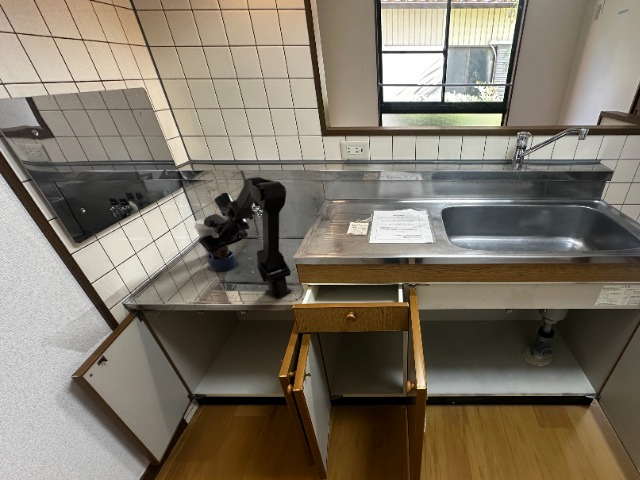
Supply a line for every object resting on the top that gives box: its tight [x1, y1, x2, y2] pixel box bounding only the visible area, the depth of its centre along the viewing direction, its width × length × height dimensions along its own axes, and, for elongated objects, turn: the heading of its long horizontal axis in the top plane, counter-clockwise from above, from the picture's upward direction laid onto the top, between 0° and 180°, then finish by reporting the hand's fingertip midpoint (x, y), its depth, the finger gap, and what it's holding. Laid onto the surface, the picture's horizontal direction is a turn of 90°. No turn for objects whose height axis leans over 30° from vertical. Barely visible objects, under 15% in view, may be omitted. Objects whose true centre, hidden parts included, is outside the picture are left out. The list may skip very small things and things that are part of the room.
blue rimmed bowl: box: [206, 249, 237, 272], centre depth 130 cm, size 10×10×5 cm
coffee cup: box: [194, 217, 218, 256], centre depth 135 cm, size 10×10×15 cm
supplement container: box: [210, 238, 230, 259], centre depth 128 cm, size 7×7×10 cm
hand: (216, 249), depth 128 cm, fingers closed on supplement container, 7 cm apart
